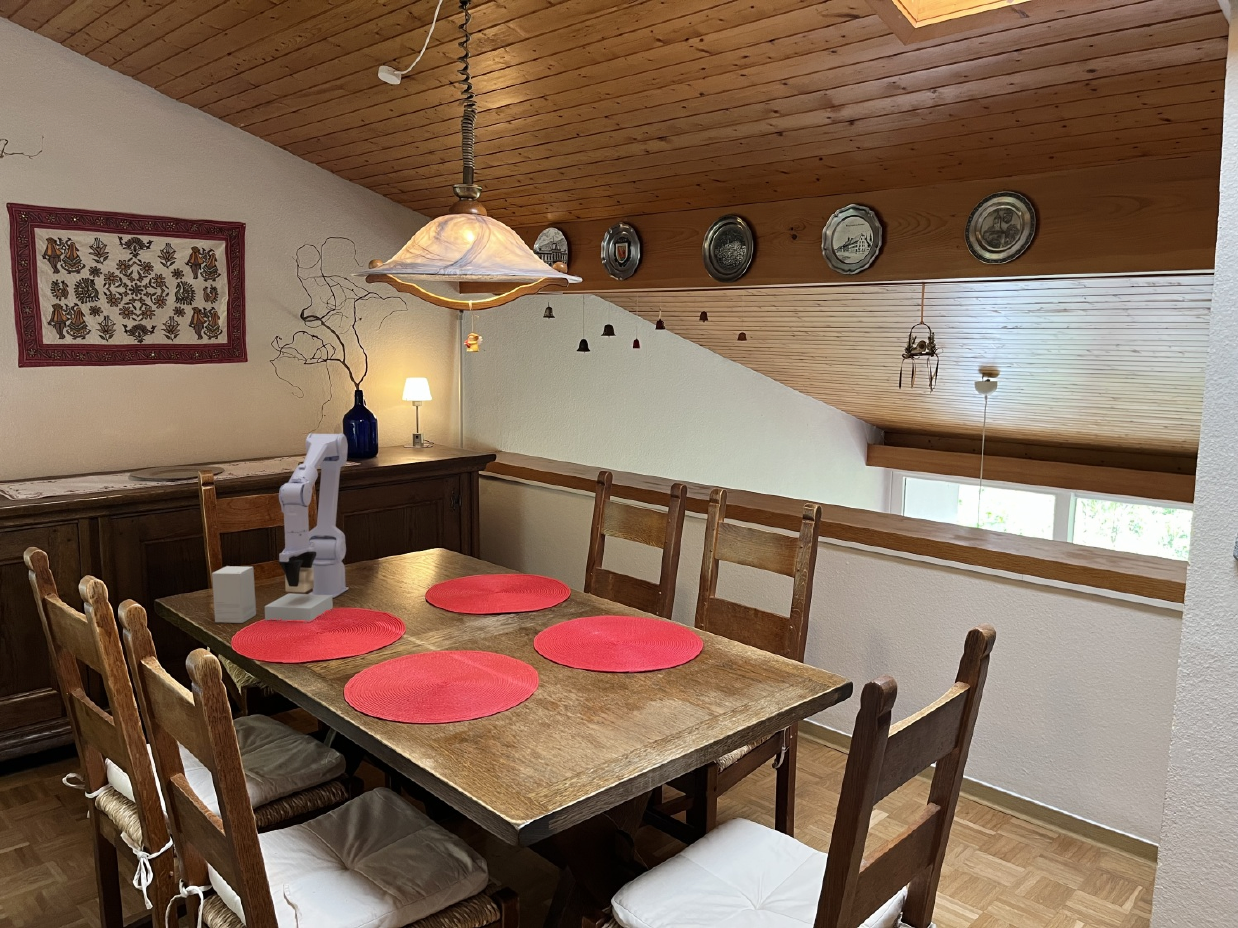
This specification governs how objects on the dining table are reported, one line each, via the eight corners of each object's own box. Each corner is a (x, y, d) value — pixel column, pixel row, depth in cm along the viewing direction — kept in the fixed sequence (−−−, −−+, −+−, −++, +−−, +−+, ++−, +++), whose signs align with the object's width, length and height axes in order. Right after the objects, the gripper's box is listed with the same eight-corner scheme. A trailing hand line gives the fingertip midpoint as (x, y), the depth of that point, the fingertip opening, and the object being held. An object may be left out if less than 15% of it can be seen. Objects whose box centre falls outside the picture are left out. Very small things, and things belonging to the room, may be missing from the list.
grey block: (289, 608, 239) (288, 593, 238) (332, 610, 237) (332, 595, 236) (265, 621, 227) (264, 606, 226) (310, 624, 225) (310, 608, 225)
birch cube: (295, 586, 234) (294, 567, 233) (313, 587, 233) (313, 568, 232) (285, 591, 229) (284, 571, 228) (304, 592, 228) (303, 572, 228)
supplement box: (257, 614, 231) (254, 566, 230) (242, 623, 224) (239, 573, 222) (229, 613, 232) (226, 565, 230) (213, 622, 225) (210, 572, 223)
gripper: (297, 536, 221) (299, 591, 223) (325, 525, 236) (326, 576, 237) (270, 535, 222) (272, 590, 224) (299, 524, 237) (301, 575, 238)
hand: (298, 583), depth 231 cm, fingers closed on birch cube, 5 cm apart
